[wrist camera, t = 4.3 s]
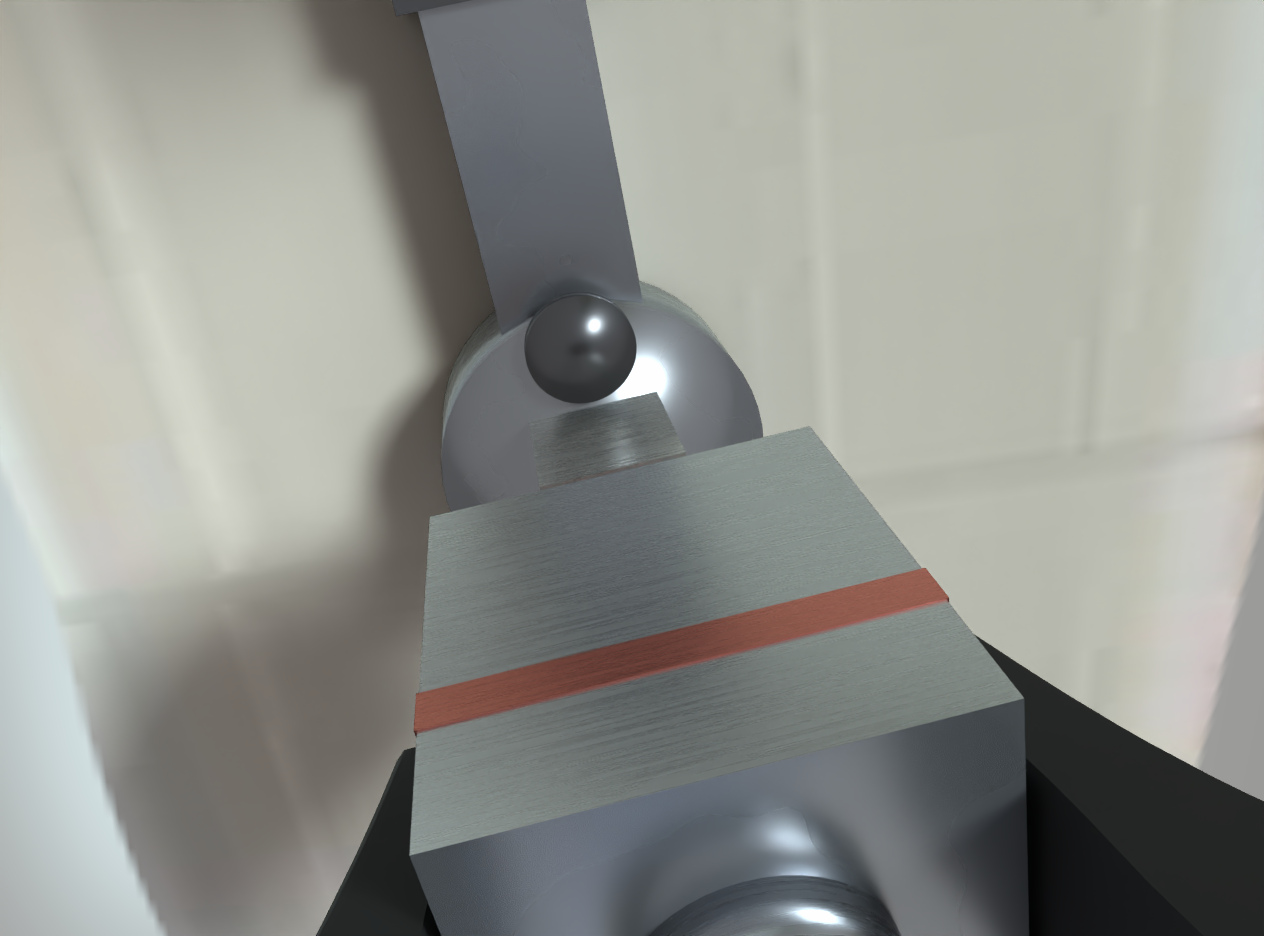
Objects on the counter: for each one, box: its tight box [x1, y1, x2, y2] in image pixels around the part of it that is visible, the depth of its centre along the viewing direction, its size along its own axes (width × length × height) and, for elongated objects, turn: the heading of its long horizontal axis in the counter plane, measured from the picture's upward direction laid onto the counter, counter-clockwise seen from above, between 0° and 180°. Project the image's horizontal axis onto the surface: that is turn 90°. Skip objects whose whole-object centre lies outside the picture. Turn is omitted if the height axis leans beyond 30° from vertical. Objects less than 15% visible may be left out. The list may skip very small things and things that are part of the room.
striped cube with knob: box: [409, 426, 1029, 936], centre depth 10 cm, size 5×5×6 cm
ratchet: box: [392, 0, 763, 512], centre depth 15 cm, size 15×6×4 cm, turn 11°
